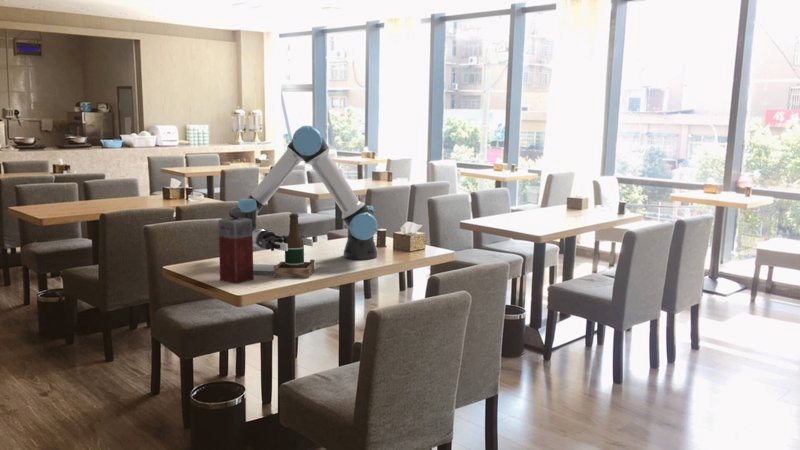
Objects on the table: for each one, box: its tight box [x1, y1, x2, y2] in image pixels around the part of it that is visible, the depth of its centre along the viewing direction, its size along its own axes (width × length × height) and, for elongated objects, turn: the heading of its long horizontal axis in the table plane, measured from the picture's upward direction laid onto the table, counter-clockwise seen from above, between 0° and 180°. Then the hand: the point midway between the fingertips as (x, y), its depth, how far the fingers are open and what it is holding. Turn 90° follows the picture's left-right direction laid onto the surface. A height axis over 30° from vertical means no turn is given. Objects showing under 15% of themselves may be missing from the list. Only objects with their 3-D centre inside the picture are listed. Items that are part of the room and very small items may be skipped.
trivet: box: [253, 263, 275, 276], centre depth 275 cm, size 12×12×2 cm
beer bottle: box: [284, 213, 305, 268], centre depth 269 cm, size 8×8×24 cm
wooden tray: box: [273, 259, 315, 279], centre depth 270 cm, size 14×14×4 cm
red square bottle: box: [218, 206, 254, 285], centre depth 258 cm, size 9×11×28 cm
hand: (300, 245), depth 267 cm, fingers open, 13 cm apart
